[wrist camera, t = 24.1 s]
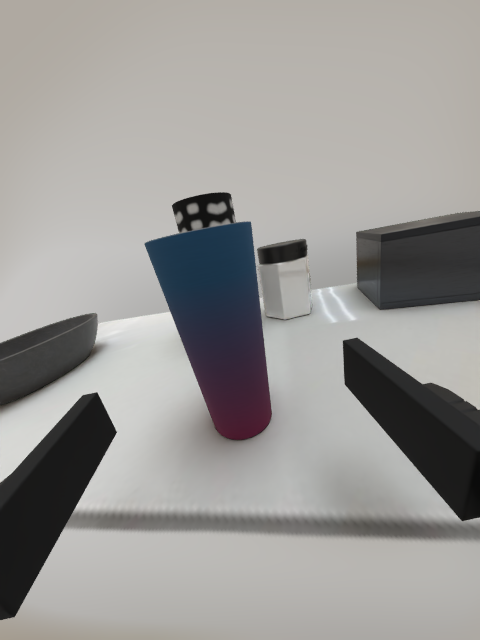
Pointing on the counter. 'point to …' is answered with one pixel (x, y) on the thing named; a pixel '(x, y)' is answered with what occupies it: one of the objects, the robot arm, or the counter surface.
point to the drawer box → (421, 261)
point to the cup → (219, 320)
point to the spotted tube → (204, 211)
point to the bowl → (44, 355)
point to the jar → (285, 279)
